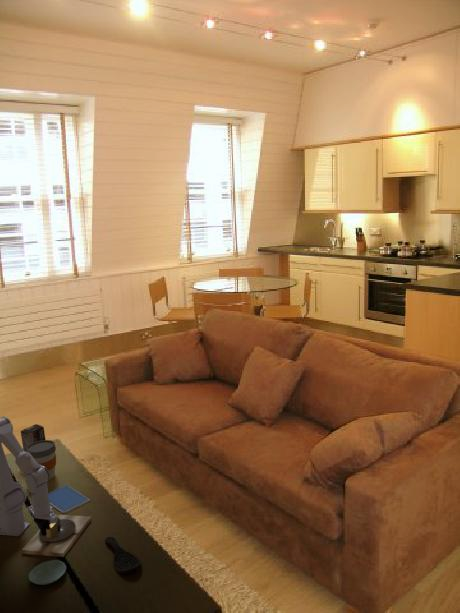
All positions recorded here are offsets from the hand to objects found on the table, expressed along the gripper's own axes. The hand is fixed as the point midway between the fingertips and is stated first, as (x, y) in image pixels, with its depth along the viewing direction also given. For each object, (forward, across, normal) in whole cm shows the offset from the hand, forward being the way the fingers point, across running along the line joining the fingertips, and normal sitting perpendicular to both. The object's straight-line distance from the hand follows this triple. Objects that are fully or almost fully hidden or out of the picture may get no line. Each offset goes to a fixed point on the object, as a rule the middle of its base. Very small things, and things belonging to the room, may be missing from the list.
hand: (45, 534), depth 197 cm
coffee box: (+4, +61, -39) cm, 73 cm away
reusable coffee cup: (+4, +43, -30) cm, 53 cm away
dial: (+2, 0, -5) cm, 5 cm away
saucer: (+4, -16, +11) cm, 20 cm away
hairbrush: (+4, -29, -9) cm, 31 cm away
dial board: (+4, 0, -5) cm, 6 cm away
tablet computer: (+4, +19, -23) cm, 30 cm away
